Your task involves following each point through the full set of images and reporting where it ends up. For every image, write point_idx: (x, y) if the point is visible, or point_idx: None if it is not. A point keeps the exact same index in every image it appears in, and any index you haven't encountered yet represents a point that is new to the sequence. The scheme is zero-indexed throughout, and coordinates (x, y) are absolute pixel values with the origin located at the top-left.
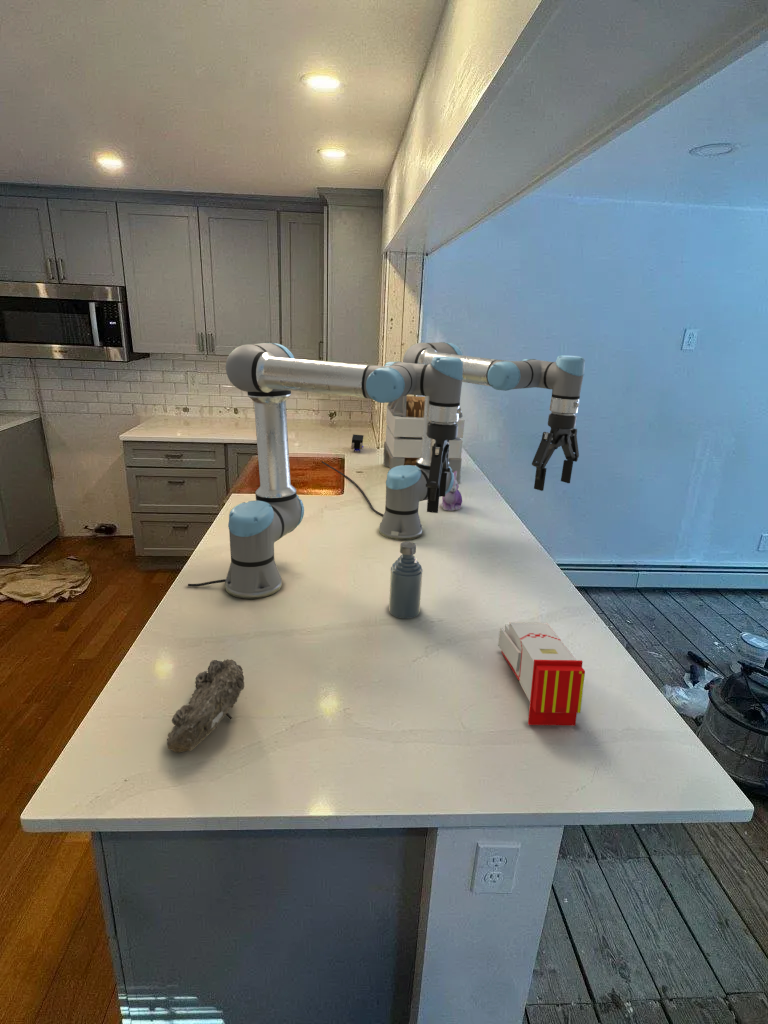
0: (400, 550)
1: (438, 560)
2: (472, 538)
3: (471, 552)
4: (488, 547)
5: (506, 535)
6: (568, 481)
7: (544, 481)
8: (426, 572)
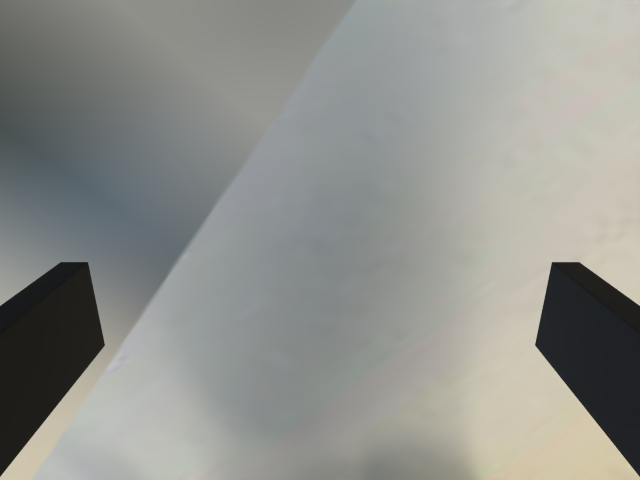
0: None
1: (497, 377)
2: (285, 420)
3: (373, 362)
4: (298, 357)
5: (170, 383)
6: (77, 275)
7: (616, 311)
8: None
